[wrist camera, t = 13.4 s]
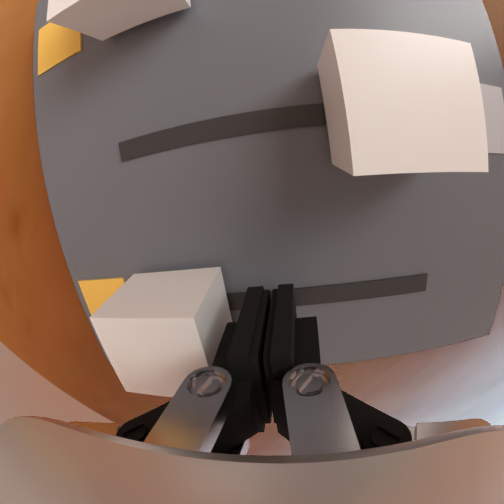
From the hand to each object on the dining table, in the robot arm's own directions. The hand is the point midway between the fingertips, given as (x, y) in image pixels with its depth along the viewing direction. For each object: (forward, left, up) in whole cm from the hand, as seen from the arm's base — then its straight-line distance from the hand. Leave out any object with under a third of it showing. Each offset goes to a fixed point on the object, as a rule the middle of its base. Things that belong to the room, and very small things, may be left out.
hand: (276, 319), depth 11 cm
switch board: (-1, -7, -4) cm, 8 cm away
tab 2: (+4, 0, -1) cm, 4 cm away
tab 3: (-5, -7, -1) cm, 8 cm away
